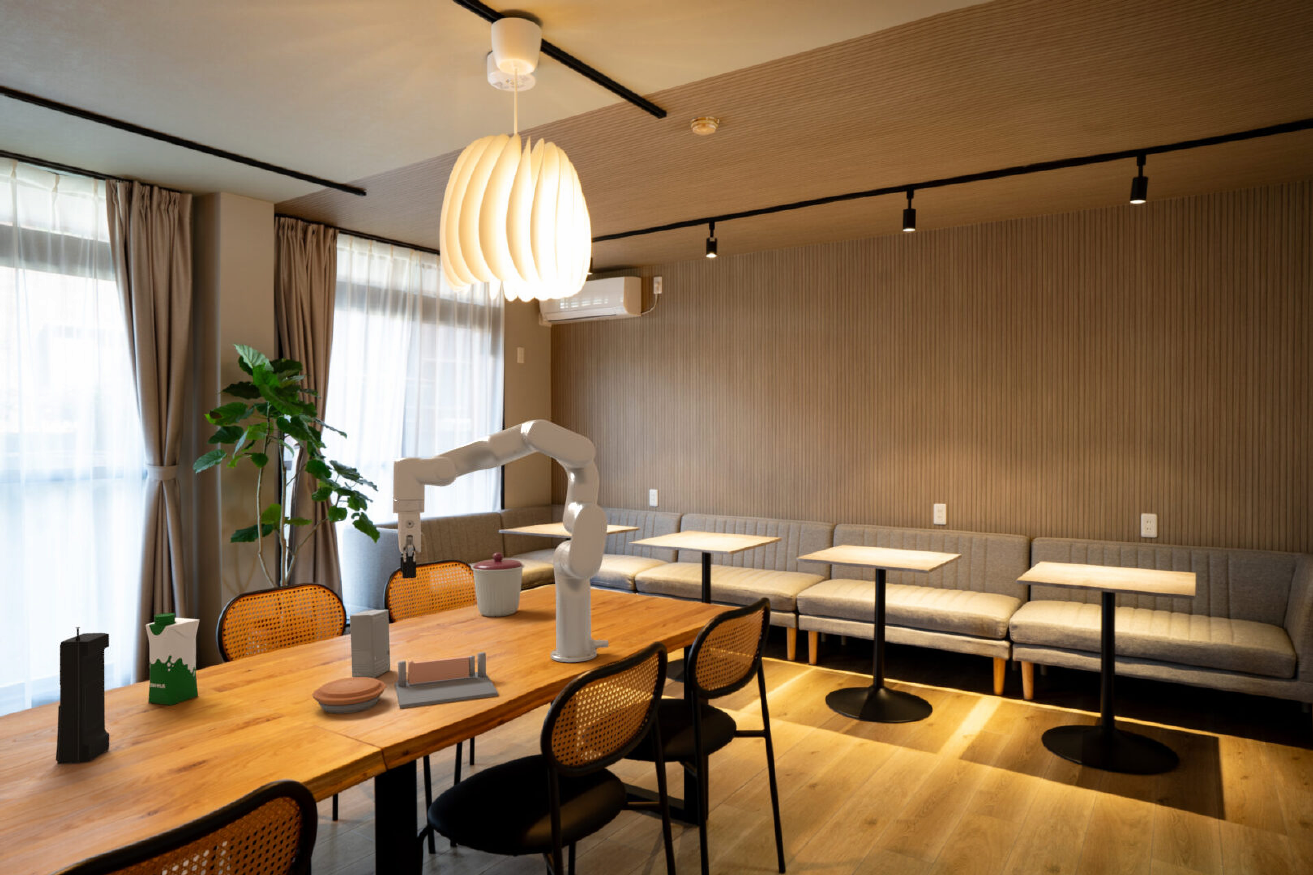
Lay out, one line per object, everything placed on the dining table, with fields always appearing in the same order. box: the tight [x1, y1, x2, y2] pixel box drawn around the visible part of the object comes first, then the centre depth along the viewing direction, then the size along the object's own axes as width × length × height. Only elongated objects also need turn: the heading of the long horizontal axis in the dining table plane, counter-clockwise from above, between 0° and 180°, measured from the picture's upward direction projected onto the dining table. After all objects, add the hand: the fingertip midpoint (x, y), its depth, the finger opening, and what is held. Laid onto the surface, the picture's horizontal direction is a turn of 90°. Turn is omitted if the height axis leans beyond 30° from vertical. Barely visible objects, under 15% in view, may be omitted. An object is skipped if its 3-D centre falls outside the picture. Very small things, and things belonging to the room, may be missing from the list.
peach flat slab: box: [407, 655, 476, 684], centre depth 190 cm, size 16×1×5 cm, turn 112°
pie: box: [311, 677, 387, 714], centre depth 176 cm, size 16×16×5 cm
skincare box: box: [349, 609, 391, 679], centre depth 200 cm, size 8×7×16 cm
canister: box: [470, 552, 525, 617], centre depth 270 cm, size 18×18×21 cm
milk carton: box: [145, 612, 200, 706], centre depth 181 cm, size 9×9×20 cm
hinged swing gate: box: [394, 651, 499, 709], centre depth 185 cm, size 22×18×6 cm
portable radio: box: [55, 626, 110, 765], centre depth 148 cm, size 8×6×25 cm
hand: (408, 575), depth 195 cm, fingers open, 9 cm apart
